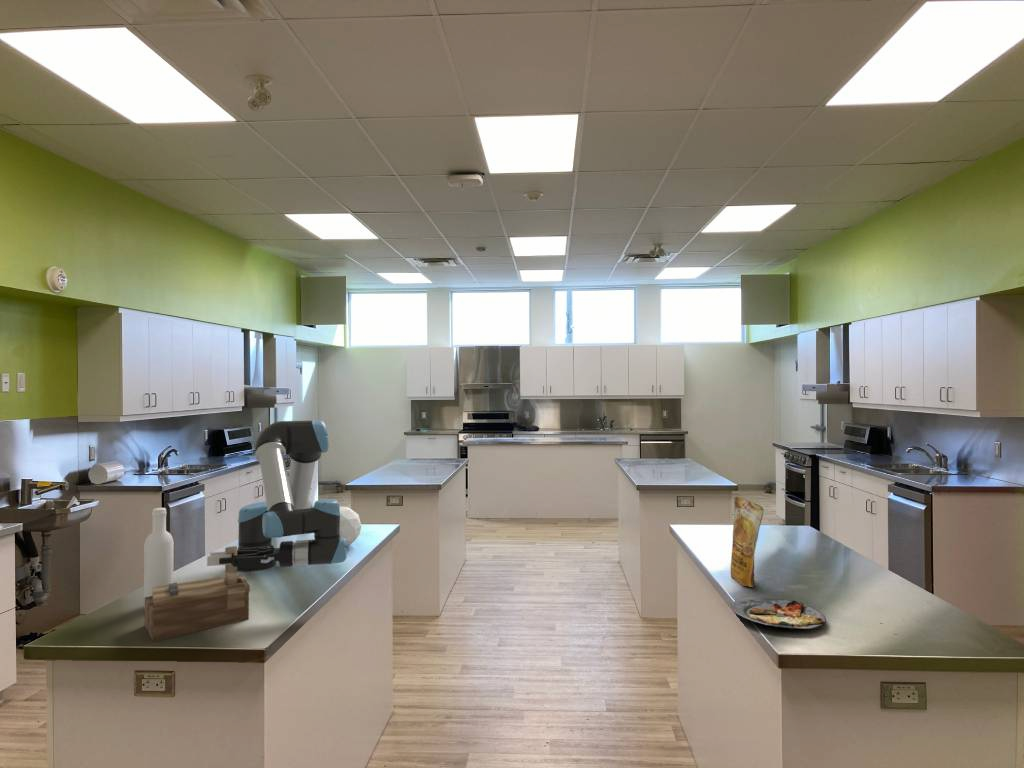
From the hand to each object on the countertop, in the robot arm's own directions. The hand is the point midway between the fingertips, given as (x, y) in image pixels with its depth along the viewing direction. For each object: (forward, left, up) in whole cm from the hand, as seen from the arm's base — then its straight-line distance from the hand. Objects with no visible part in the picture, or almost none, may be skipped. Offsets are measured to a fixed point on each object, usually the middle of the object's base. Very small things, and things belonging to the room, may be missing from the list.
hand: (209, 559), depth 174 cm
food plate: (+109, +126, -18) cm, 167 cm away
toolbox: (+2, -4, -17) cm, 17 cm away
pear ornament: (-53, +59, -16) cm, 81 cm away
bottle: (-20, -10, -17) cm, 28 cm away
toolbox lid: (+1, -2, -9) cm, 9 cm away
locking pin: (+2, +5, -11) cm, 13 cm away
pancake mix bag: (+85, +151, -17) cm, 174 cm away
